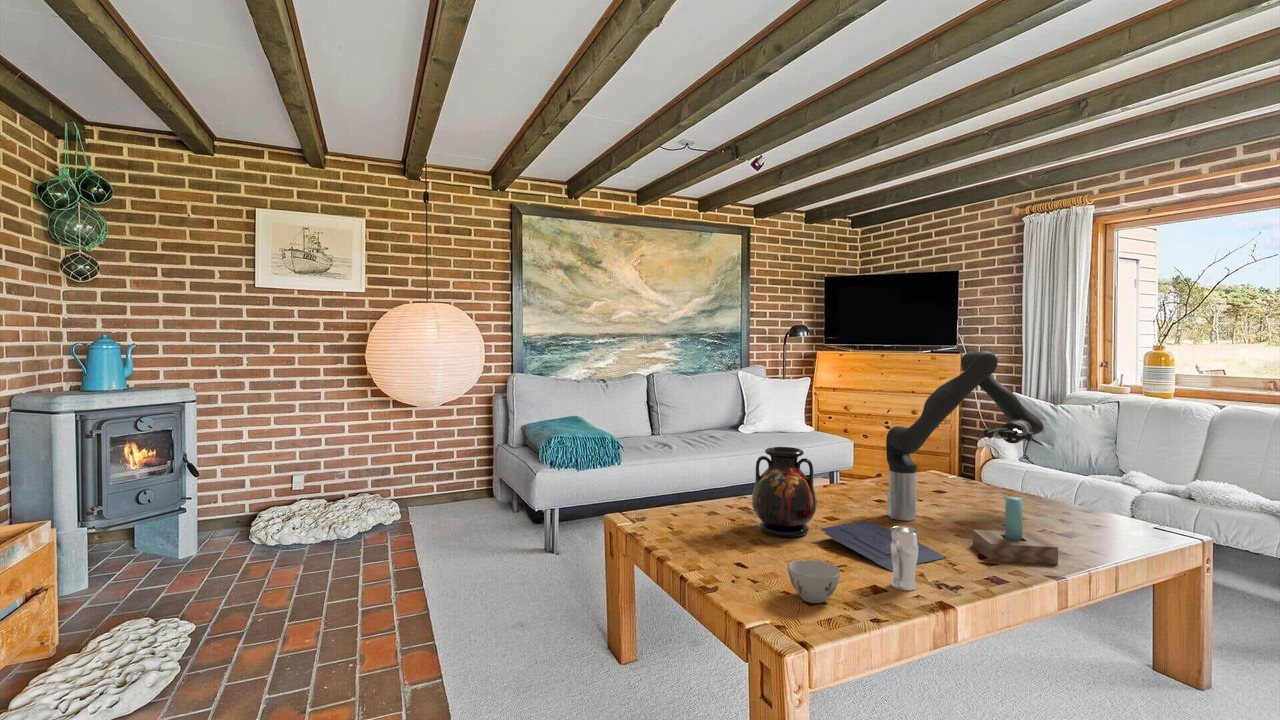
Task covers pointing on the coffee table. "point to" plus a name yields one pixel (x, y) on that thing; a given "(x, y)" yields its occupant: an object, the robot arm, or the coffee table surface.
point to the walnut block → (1015, 547)
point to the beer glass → (904, 557)
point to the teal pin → (1013, 519)
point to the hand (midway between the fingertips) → (1002, 436)
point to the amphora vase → (784, 494)
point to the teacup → (813, 579)
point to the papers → (873, 542)
